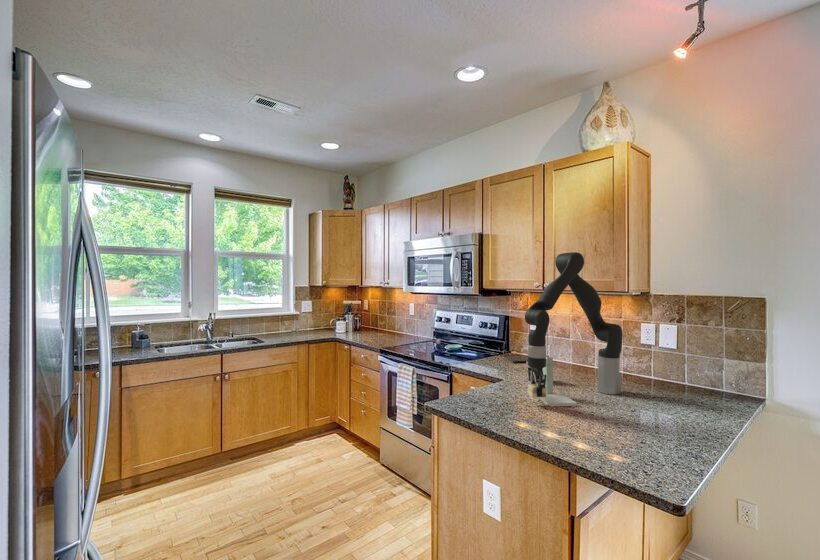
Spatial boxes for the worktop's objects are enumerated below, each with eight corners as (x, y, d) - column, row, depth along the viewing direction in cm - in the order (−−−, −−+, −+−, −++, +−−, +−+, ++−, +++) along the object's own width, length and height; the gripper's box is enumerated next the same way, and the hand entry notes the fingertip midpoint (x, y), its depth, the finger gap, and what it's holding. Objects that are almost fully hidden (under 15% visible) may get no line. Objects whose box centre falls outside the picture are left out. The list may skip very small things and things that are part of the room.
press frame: (556, 392, 185) (557, 355, 185) (576, 406, 167) (577, 364, 166) (532, 393, 184) (532, 355, 184) (550, 407, 166) (550, 364, 165)
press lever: (545, 359, 186) (545, 354, 186) (555, 364, 176) (555, 359, 176) (505, 359, 184) (505, 354, 184) (513, 365, 174) (513, 359, 174)
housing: (540, 393, 171) (540, 381, 171) (545, 397, 166) (546, 385, 166) (527, 393, 170) (527, 382, 170) (532, 397, 165) (532, 385, 165)
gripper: (552, 359, 161) (552, 399, 161) (538, 351, 175) (537, 389, 176) (535, 359, 160) (535, 400, 161) (522, 352, 174) (522, 389, 175)
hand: (536, 394), depth 168 cm, fingers closed on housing, 5 cm apart
